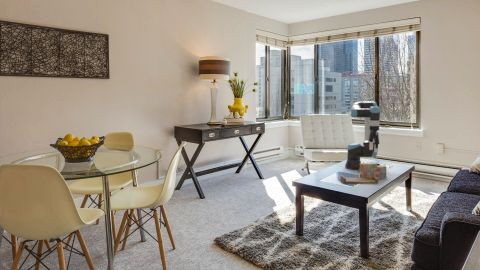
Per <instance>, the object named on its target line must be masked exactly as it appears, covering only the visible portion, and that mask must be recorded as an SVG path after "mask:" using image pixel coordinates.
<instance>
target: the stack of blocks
mask: <svg viewBox="0 0 480 270" xmlns="http://www.w3.org/2000/svg"><path fill="white" fill-rule="evenodd" d="M387 167H388V166H385V165H383V164H382V165H378V163H377V162H361V163H360V169H359V177H358V178H372V175H374V176H375V177H377V178H378V179H379V178H381V179H382V178H383V177H384V178H387V174H388V173H387V169H388V168H387Z"/></svg>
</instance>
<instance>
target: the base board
mask: <svg viewBox="0 0 480 270" xmlns="http://www.w3.org/2000/svg"><path fill="white" fill-rule="evenodd" d="M340 181H342V183H343V184H357V185H358V184H364V185H365V184H369V185H370V184H371V185H372V184H373V185H374V184H375V185H378V184H379V178H377V177H375V176H374V175H372V178H360V177H345V175H344V174H340Z"/></svg>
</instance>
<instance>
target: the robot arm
mask: <svg viewBox="0 0 480 270" xmlns="http://www.w3.org/2000/svg"><path fill="white" fill-rule="evenodd" d="M349 111H350V118H353V119H354V118H355V119H356V118H364V141H363V143H360V142H354V143H349V144H348V145H347V160H346V162H345V165H344V168H346V169H348V170H360V163H362V162H361V158H370V159H371V158H373V159H374V158H376V157H378V156H377V155H378V152H379V145H380V137H379V132H378V131H380V115H381V107H380V106H378V104H377V102H376V101H357V102H353V103H352V104H351V105H350V107H349Z"/></svg>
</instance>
